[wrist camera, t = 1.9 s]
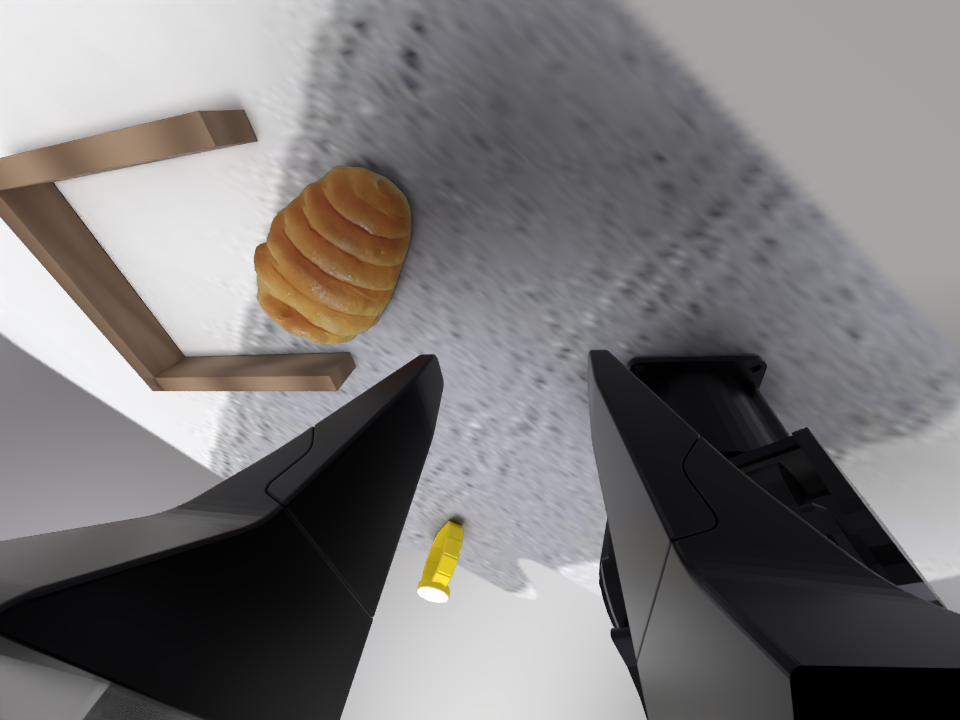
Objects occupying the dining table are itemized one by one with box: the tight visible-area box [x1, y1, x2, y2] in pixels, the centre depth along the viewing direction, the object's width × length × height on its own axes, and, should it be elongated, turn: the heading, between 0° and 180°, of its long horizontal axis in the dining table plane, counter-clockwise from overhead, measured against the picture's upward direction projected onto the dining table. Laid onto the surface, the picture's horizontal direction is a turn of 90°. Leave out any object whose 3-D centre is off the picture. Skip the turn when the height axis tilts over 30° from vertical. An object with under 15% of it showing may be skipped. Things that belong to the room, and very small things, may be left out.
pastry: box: [254, 166, 411, 344], centre depth 18 cm, size 9×7×4 cm
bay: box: [0, 110, 355, 391], centre depth 21 cm, size 15×14×2 cm
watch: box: [417, 521, 463, 603], centre depth 32 cm, size 6×3×6 cm, turn 155°
